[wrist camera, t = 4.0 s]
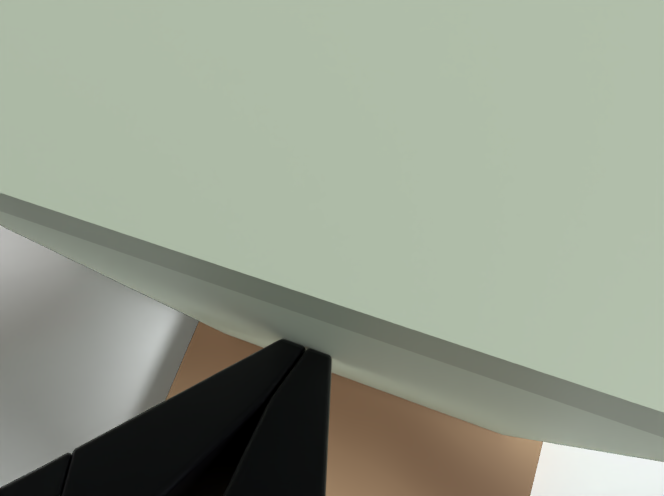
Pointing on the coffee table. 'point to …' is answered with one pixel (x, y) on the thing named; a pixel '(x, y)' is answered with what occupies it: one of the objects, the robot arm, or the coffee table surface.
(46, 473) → the robot arm
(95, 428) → the coffee table surface
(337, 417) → the walnut board
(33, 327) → the coffee table surface
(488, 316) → the tea caddy
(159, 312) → the coffee table surface
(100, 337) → the coffee table surface
